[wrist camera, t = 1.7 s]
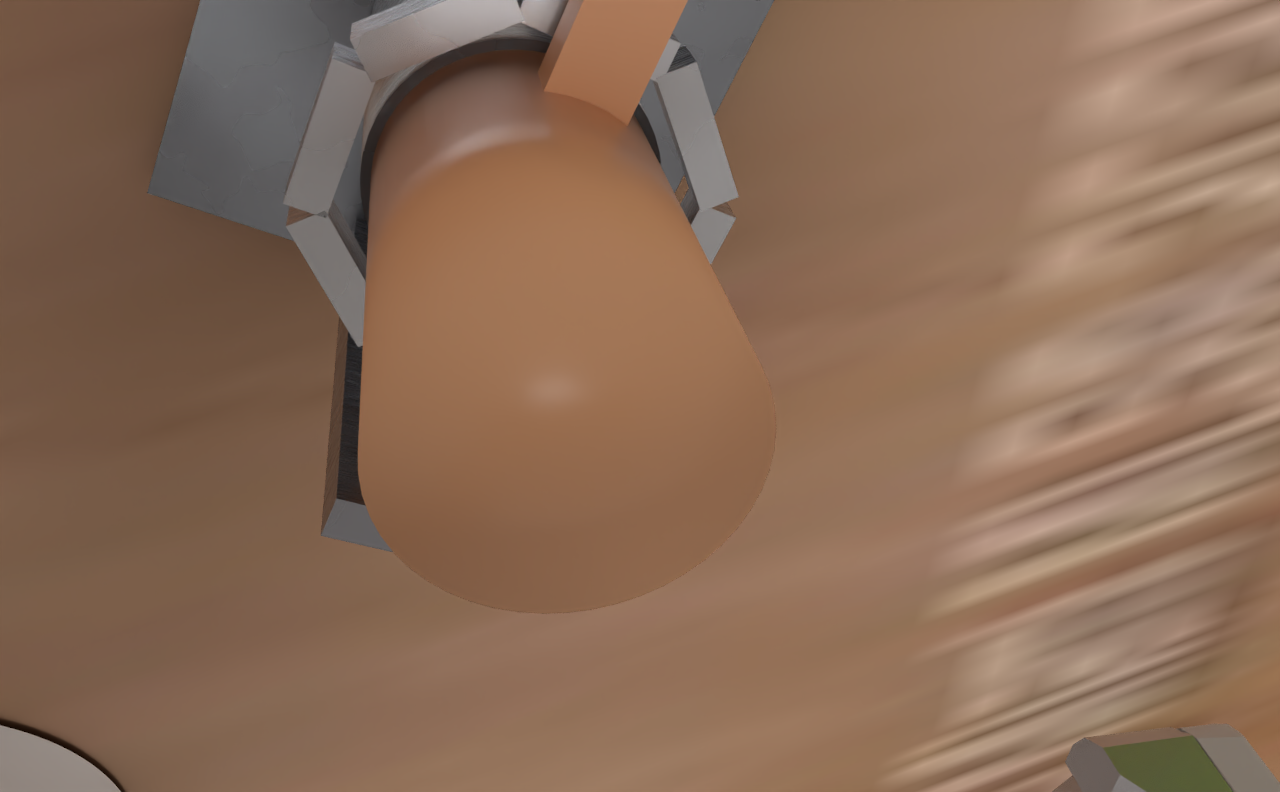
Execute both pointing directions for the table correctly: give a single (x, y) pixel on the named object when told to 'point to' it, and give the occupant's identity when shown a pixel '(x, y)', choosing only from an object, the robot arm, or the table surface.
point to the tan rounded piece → (549, 333)
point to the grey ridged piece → (354, 119)
